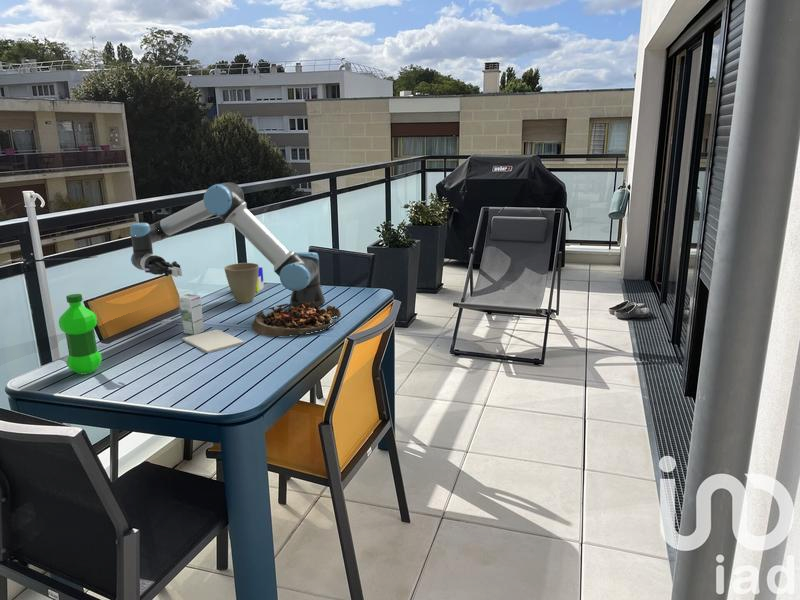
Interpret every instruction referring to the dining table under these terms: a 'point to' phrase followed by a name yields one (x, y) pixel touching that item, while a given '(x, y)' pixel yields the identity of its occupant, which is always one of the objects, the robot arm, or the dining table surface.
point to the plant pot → (242, 280)
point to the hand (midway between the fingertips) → (178, 272)
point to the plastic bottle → (80, 336)
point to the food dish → (294, 320)
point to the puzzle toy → (260, 280)
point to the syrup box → (191, 314)
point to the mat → (212, 341)
